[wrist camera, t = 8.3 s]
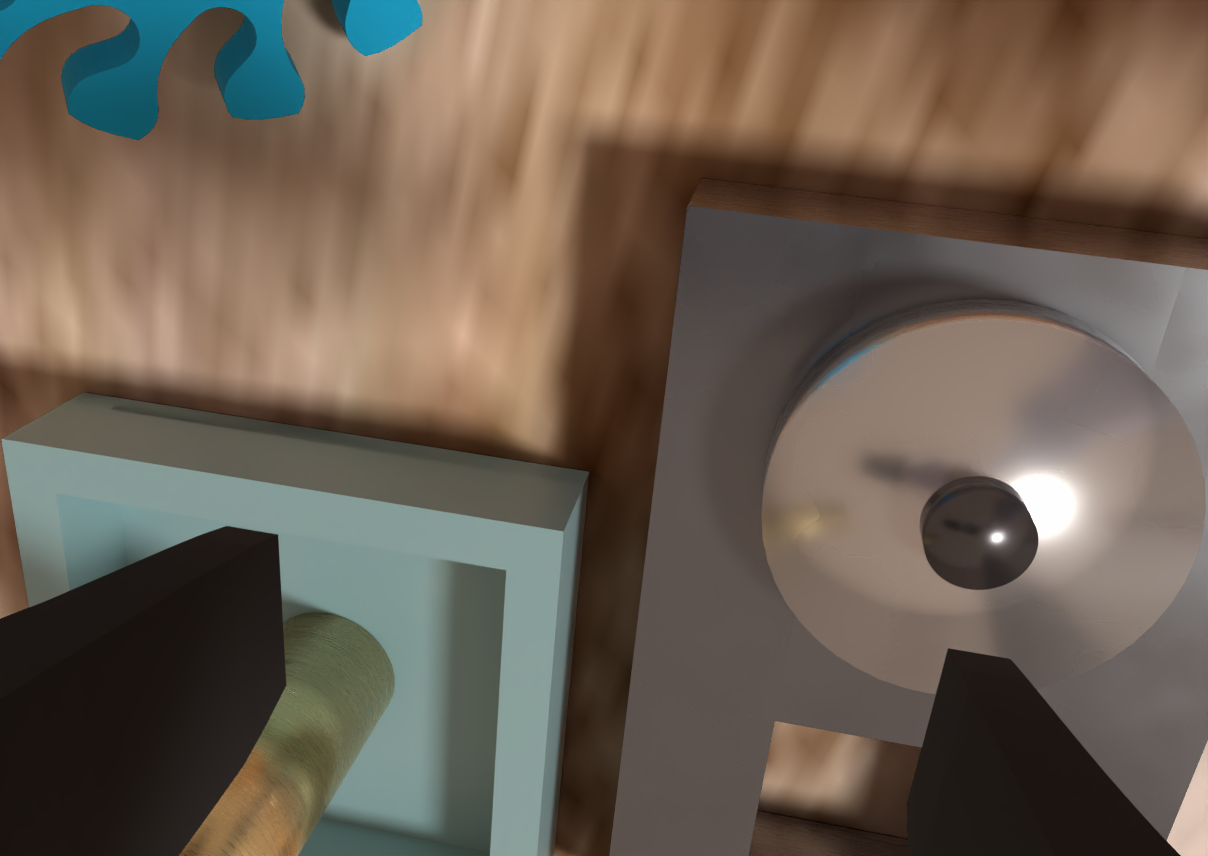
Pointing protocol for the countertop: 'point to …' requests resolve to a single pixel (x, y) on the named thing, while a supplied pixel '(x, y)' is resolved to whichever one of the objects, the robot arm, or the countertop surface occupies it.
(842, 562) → the grey flat block
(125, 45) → the gear
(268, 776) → the pin
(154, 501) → the pin tray
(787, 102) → the countertop surface
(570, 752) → the countertop surface
